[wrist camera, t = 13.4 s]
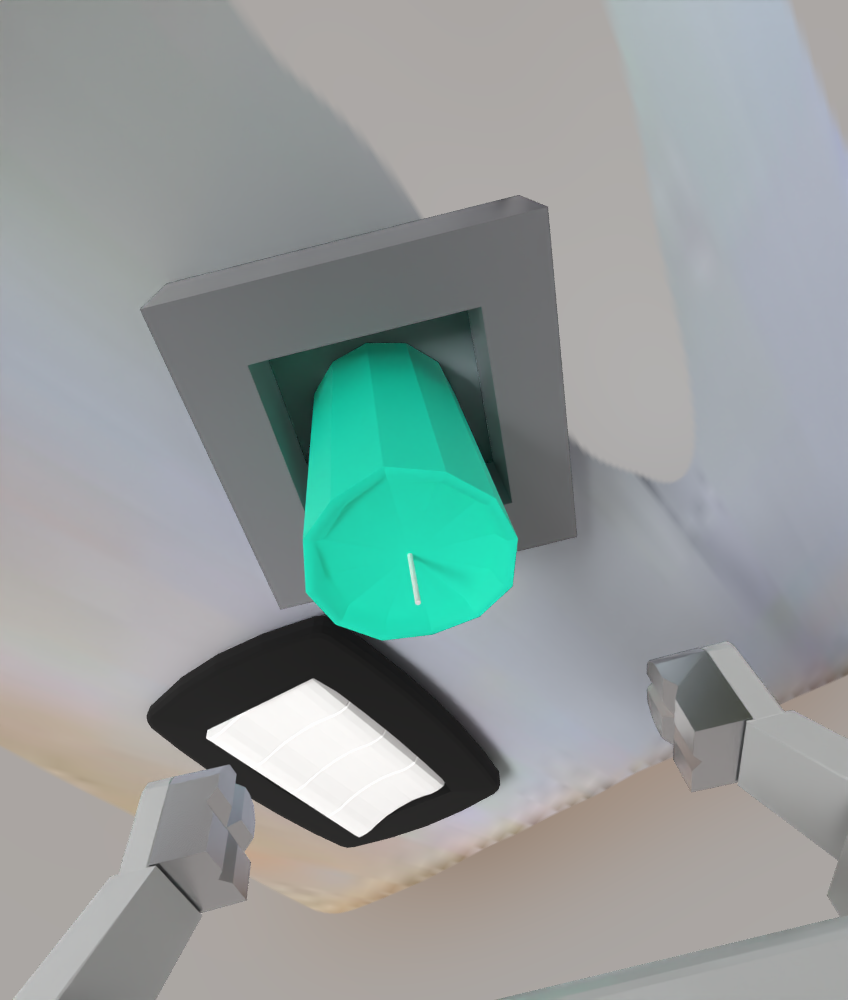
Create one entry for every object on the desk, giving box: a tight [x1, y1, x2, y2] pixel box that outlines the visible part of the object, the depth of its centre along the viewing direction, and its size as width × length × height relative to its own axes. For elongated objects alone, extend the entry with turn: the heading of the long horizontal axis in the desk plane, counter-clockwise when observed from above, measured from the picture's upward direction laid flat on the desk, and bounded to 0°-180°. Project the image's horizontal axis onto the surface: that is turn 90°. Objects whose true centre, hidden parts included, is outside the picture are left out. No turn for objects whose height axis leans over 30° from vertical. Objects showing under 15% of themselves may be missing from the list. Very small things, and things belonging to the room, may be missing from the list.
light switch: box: [147, 616, 500, 848], centre depth 36 cm, size 20×3×14 cm
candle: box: [303, 343, 518, 641], centre depth 20 cm, size 6×6×12 cm
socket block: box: [140, 195, 577, 610], centre depth 24 cm, size 13×13×4 cm
